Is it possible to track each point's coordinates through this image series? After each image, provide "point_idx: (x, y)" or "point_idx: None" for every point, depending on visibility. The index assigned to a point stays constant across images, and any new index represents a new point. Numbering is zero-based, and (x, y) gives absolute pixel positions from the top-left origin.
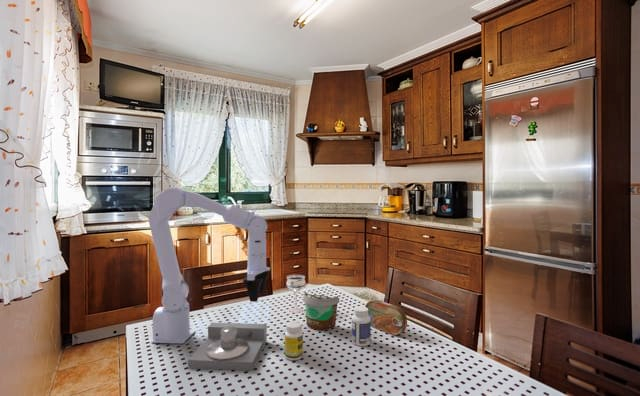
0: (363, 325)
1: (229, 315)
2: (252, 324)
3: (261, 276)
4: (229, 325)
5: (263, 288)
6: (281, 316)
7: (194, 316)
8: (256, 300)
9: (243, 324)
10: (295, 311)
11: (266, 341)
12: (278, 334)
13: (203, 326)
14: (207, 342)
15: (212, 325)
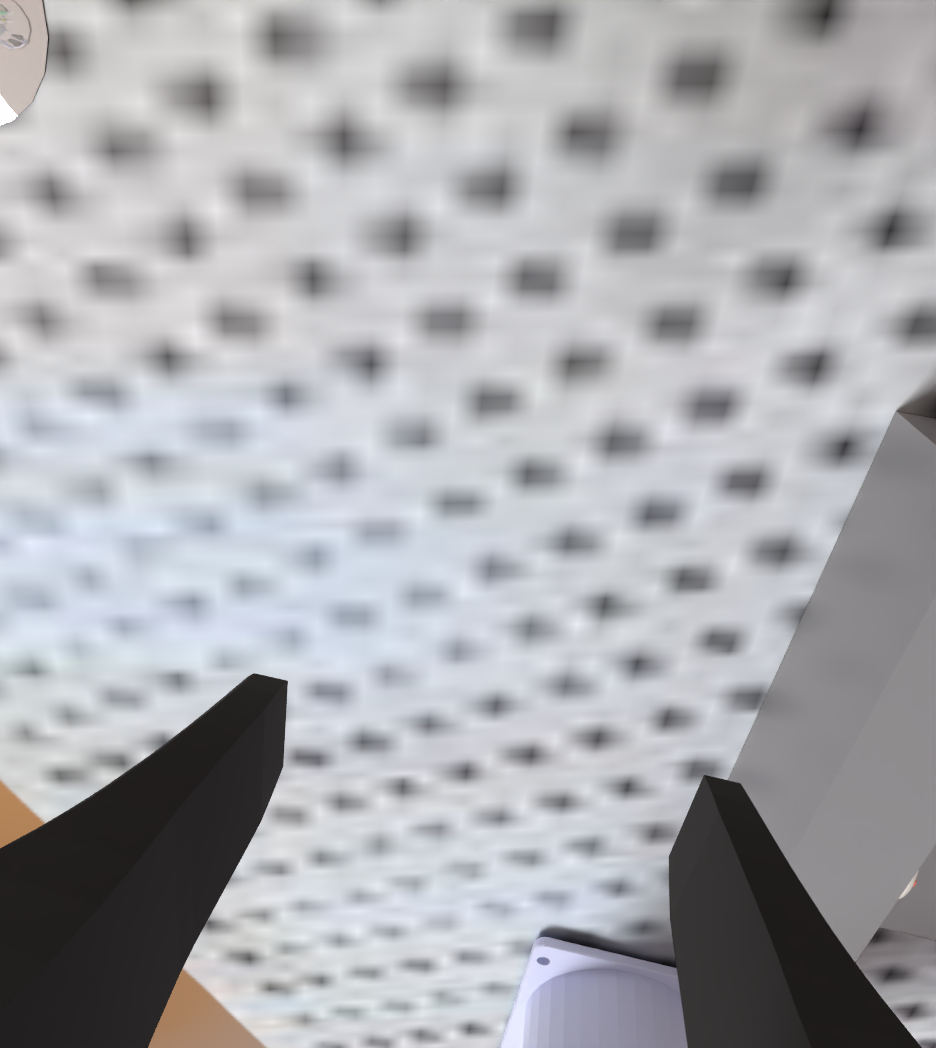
0: None
1: None
2: (927, 661)
3: (79, 1042)
4: (860, 864)
5: (246, 739)
6: (196, 239)
7: (254, 945)
8: (753, 805)
9: (885, 749)
10: (16, 17)
11: (905, 413)
12: (741, 273)
13: (440, 893)
14: (907, 910)
15: None
